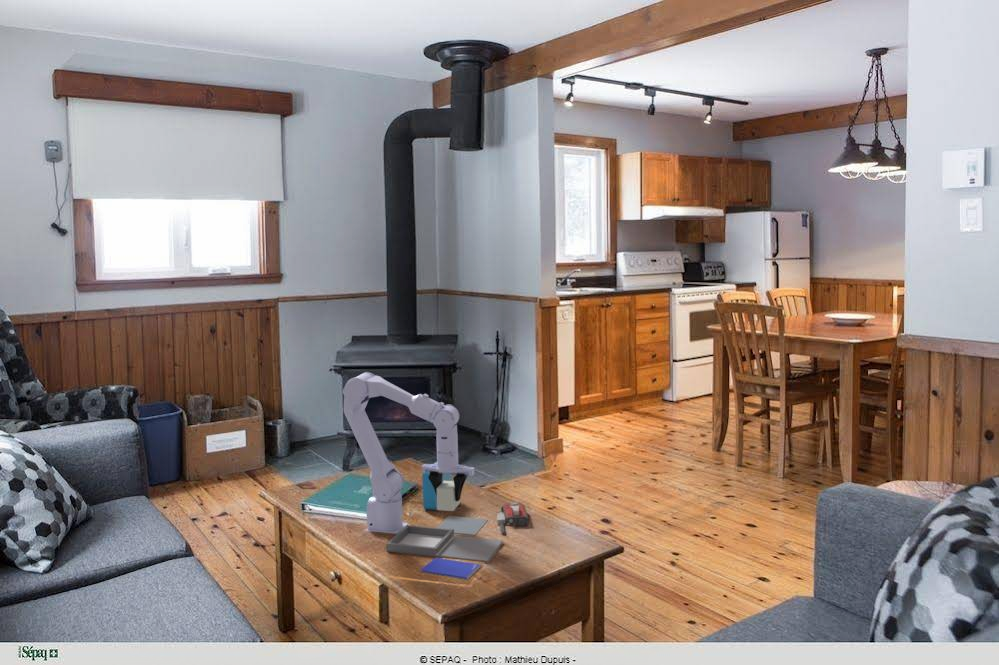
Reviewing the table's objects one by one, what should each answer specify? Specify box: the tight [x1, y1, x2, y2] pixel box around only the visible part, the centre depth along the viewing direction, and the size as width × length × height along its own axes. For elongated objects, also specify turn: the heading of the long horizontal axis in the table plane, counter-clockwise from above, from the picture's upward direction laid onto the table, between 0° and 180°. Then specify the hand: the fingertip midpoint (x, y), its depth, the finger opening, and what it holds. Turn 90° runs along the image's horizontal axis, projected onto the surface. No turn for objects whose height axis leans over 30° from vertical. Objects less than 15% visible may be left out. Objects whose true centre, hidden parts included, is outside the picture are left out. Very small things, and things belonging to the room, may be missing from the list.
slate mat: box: [436, 515, 489, 536], centre depth 220 cm, size 12×12×1 cm
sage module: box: [436, 480, 461, 512], centre depth 215 cm, size 4×7×6 cm, turn 168°
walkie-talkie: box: [496, 502, 530, 536], centre depth 223 cm, size 9×4×20 cm
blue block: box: [421, 461, 453, 511], centre depth 238 cm, size 12×4×12 cm, turn 161°
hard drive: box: [420, 557, 482, 580], centre depth 192 cm, size 2×8×12 cm
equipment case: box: [385, 524, 504, 564], centre depth 206 cm, size 27×14×2 cm, turn 74°
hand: (448, 499), depth 215 cm, fingers closed on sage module, 5 cm apart
